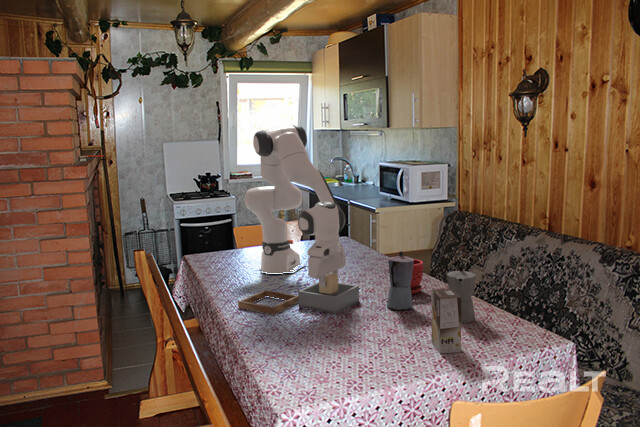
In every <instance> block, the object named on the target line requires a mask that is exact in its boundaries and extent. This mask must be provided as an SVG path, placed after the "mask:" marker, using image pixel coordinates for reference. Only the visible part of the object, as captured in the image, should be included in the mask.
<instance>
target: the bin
mask: <svg viewBox="0 0 640 427" xmlns="http://www.w3.org/2000/svg"><path fill="white" fill-rule="evenodd" d="M359 287H360V286H359V285H355V284H348V283H342V282H338V291H336V292H334V293H332V294H327V293H321V292H319V281H318V282H316V283H314V284H311V285H309V286H307V287H305V288H302V289H300V290H298V291H297V293H298V294H297V295H298V301H299V303H298V308H299V307H302V308H301V309H305V308H307V309H306V310H310V309H311V311H317V312H323V313H327V314H332V315H338V314H340V313H341V312H344V311H345V310H346V309H348V308H350V307H352V306H353V305H355V304H357V303H359V302H360V288H359Z"/></svg>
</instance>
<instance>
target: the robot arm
mask: <svg viewBox="0 0 640 427" xmlns="http://www.w3.org/2000/svg"><path fill="white" fill-rule="evenodd" d="M307 144H308V136H307V132H306V130H305V128H304V127H303V126H301V125H292V126H291V125H290V126H289V125H287V126H286V125H285V126H284V125H283V126H278V127H273V128H269V129H262V130H259V131H257V132H255V134H254V136H253V148H254V151H255V153H256V154H257V155H258V156H259V157H260V176H261V178H262V179H263V180H264V181H265V182H267V183H269V184H271V185H270V186H269V185H268V186H257V187H253V188H249V189H247V190H246V192H245V195H244V200H243V201H244V204H245V207H246V208H247V209H248V210H249V211H251V212H252V213H253V214H255V216H257V219H258V220H259V222H260V225H261V230H262V242H261V246H262V247H261V249H262V252H261V262H260V264H261V265H260V267H261V270H262V271H263V272H267V273H283V272H293V271H290V270H294V269H293V268H295V267H296V266H298V265H300V263H301V257H300V254H299V253H298V252H296V250H294V249H292V247H291V245H293V244H294V240H293V239H288V225H287V222H286V221H285V220H284V219H282V218H279V217H277V216H275V215H274V214H273V212H275V211H290V210H294V209H298V208H299V207H300V206H301V205H302V203H303V194H302V191H301V189H300V188H299V187H298V186H296V185H295V184H293V183H296V184H301V185H303V186H306V187H308V188H310V189H312V190H313V192H315V194H316V195H317V197H318V202H317V203H315V205H314V206H312V207H311V208H308V209H305V210H302V211H301V212H300V214H299V216H298V219H297V223H298V224H297V225H298V228H299V230H300V232H301V233H302V234H304V235H306V236H314V243H313V244H312V245H311V246H310V247H309V248H308V249H307V256H308V259H307V269H308V270H307V272H308V276H309V278H312V279H318V281H319V280H320V282H321V287H326V286H327V282H326V281H325V275H327V274H329V273H330V274H337V275H338V273H339V270H340V269H343V268H345V266H346V264H347V260H346V259H347V258H346V251H345V249H344V245H343V244H342V243H341V242H340V240H341V239H340V234H339V233H340V232H341V231H342V230H343V228H344V227H345V225H346V221H347V220H346V215H345V213H344V211H343V209H342V208H341V206H340V205H339V203H338V202H337V200H336V198H335V196H334V194H333V192H332V189H331V187H330V185H329V183H328V182H327V180H326V178H325V176H324V175H323V172H322V171H321V170H319V169H318V168H317V167H315V166H314V164H313V163H312V161H311V160H310V158H309V155H308V153H307V150H306V147H307ZM292 182H293V183H292ZM261 270H260V271H261ZM294 271H295V270H294Z"/></svg>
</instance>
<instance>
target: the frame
mask: <svg viewBox="0 0 640 427" xmlns="http://www.w3.org/2000/svg"><path fill="white" fill-rule="evenodd" d="M265 296H269V297H274V298H279V299H284V300H286V301H284V300H283V301H282V302H280V303H278V304H276V305H274V306H269V305H265V304H260V303H256V302H255V301H257V300H259V299H261V298H263V299H265V298H264V297H265ZM279 299H278V300H279ZM261 300H262V299H261ZM259 301H260V300H259ZM253 302H254V303H253ZM257 302H258V301H257ZM298 302H299V301H298V294H297V295H296V294H292V293H285V292H280V291H273V290H268V289H263V290H262V291H260V292H257V293H255V294H253V295H250V296H247V297H245V298H243V299H241V300H238V301H237V305H238V306H237V307H238V309H240V308H243V309H242V310H245V309H248V310H247V311H250V310H253V311H252V312H255V311H258V312H257V313H260V312H263V313H262V314H265V313H268V314H267V315H270V314H273V315H272V316H275V315H277V314H279V313H281V312H283V311H285V310H287V309H289V308H291V307H293V306H295V305H297V304H299V303H298ZM296 303H297V304H296ZM294 304H295V305H294ZM292 305H293V306H292ZM290 306H291V307H290ZM288 307H289V308H288ZM286 308H287V309H286ZM284 309H285V310H284ZM282 310H283V311H282ZM280 311H281V312H280ZM278 312H279V313H278ZM276 313H277V314H276ZM274 314H275V315H274Z"/></svg>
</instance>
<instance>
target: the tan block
mask: <svg viewBox="0 0 640 427" xmlns="http://www.w3.org/2000/svg"><path fill="white" fill-rule="evenodd" d="M325 281H326V282H327V286H326V287H321V282H320V280H319V279H318V282H319V292H321V293H327V294H332V293H334V292H336V291H338V283H339V274H338V273H337V274H332V273H329V274H327V275H325Z"/></svg>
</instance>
